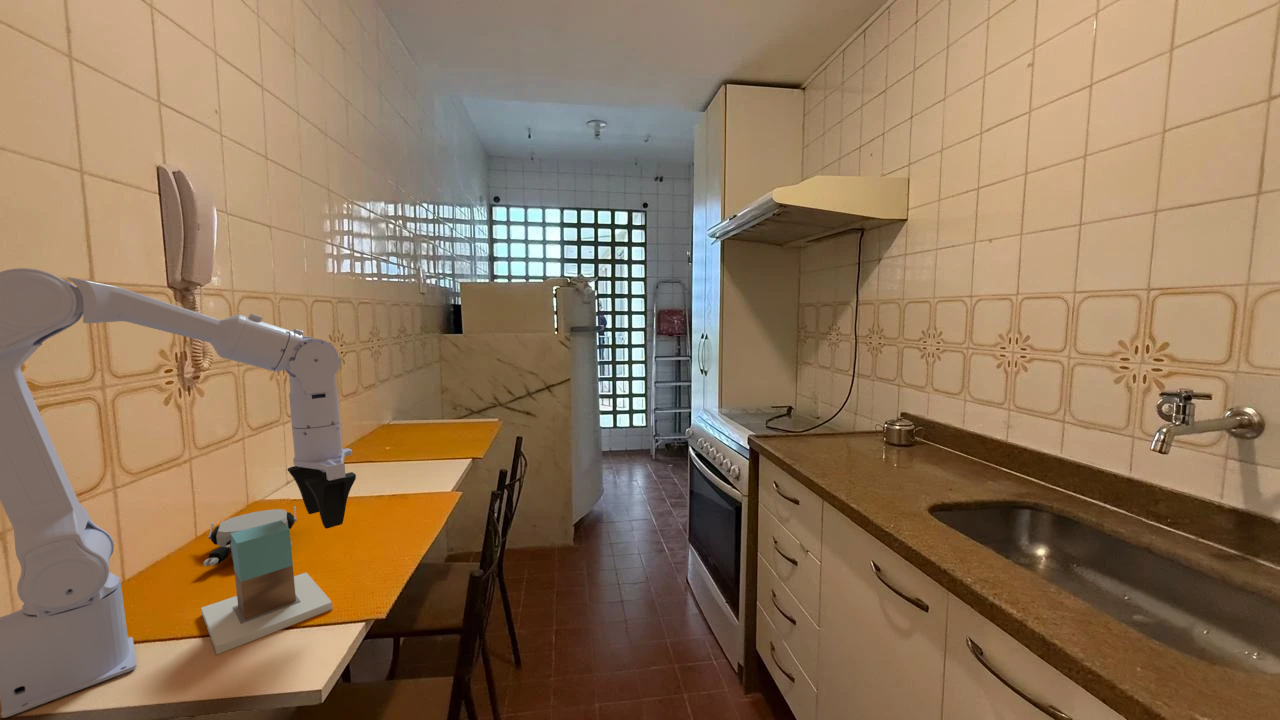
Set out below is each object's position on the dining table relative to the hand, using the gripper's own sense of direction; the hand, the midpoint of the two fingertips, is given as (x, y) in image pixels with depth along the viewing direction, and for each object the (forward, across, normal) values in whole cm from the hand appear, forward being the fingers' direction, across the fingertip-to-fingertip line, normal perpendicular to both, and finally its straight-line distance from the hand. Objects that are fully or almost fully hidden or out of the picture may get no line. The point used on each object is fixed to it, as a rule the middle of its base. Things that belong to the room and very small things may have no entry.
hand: (324, 518), depth 72 cm
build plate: (+10, 0, +8) cm, 13 cm away
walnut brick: (+9, 0, +7) cm, 12 cm away
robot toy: (+11, +25, +5) cm, 27 cm away
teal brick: (+4, 0, +7) cm, 9 cm away
